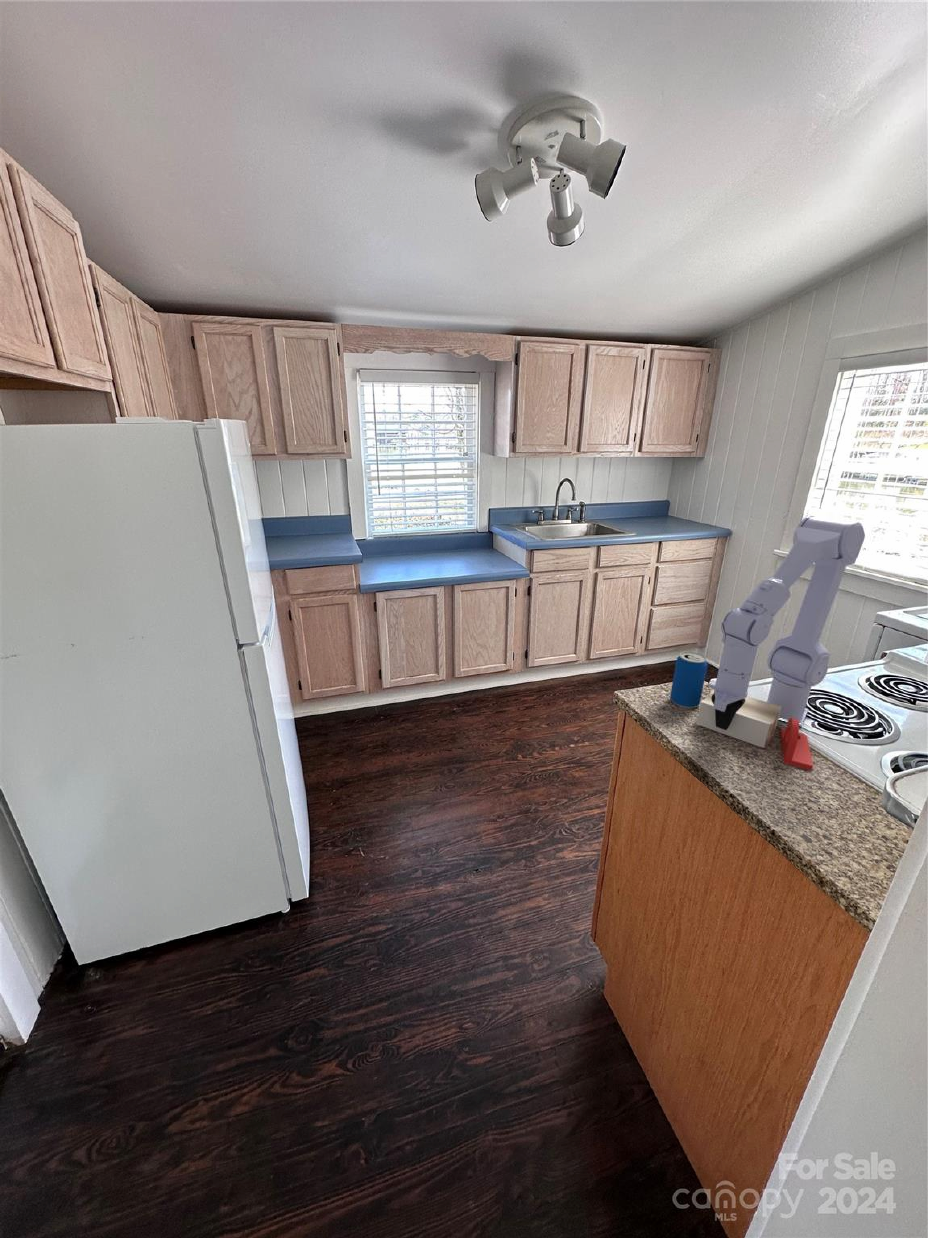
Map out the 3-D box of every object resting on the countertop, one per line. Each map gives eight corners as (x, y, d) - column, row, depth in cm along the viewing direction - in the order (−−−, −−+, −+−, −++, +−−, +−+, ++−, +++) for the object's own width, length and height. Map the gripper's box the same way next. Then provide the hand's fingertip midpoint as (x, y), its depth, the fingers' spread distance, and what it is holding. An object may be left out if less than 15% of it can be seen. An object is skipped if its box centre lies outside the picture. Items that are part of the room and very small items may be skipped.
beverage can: (678, 693, 120) (686, 648, 116) (704, 704, 115) (713, 657, 111) (664, 701, 116) (672, 655, 112) (690, 713, 111) (700, 665, 107)
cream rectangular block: (710, 707, 114) (715, 686, 112) (775, 729, 105) (781, 706, 103) (698, 723, 107) (702, 701, 105) (766, 747, 99) (772, 724, 97)
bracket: (811, 771, 92) (822, 735, 90) (783, 763, 94) (793, 728, 92) (805, 738, 102) (815, 705, 100) (780, 732, 104) (788, 700, 102)
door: (697, 722, 107) (702, 700, 105) (764, 745, 99) (771, 722, 97) (696, 724, 106) (700, 701, 104) (763, 748, 98) (770, 724, 96)
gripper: (724, 652, 105) (711, 707, 109) (702, 674, 94) (690, 734, 99) (761, 662, 100) (746, 719, 105) (743, 686, 90) (727, 748, 95)
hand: (721, 727), depth 102 cm, fingers closed
